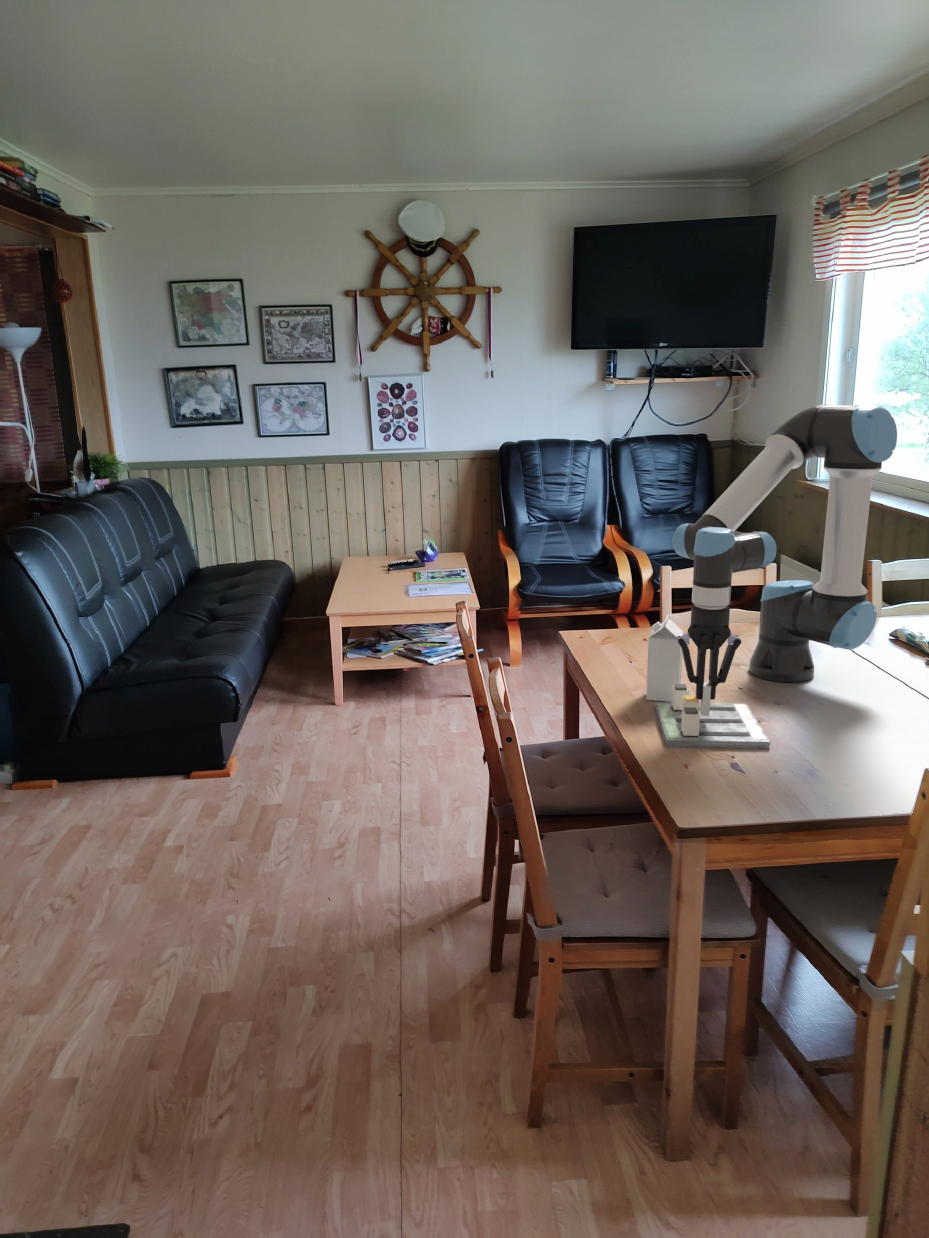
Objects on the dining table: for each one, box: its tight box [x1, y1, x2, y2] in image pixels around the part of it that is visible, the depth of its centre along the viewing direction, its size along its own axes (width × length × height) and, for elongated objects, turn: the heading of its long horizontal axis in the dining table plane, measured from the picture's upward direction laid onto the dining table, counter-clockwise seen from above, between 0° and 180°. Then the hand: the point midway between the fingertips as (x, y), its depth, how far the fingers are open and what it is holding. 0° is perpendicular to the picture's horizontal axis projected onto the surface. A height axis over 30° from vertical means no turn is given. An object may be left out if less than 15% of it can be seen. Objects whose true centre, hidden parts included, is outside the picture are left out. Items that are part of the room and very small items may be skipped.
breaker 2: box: [681, 707, 700, 736], centre depth 173 cm, size 3×3×5 cm
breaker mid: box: [681, 694, 700, 717], centre depth 179 cm, size 3×3×5 cm
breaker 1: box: [672, 683, 689, 710], centre depth 186 cm, size 3×3×5 cm
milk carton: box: [645, 613, 684, 702], centre depth 196 cm, size 7×7×19 cm
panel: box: [654, 701, 771, 750], centre depth 180 cm, size 20×21×2 cm
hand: (704, 713), depth 179 cm, fingers closed
